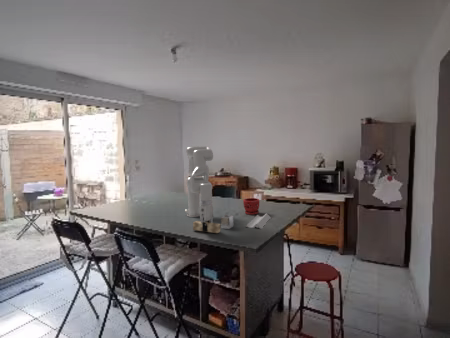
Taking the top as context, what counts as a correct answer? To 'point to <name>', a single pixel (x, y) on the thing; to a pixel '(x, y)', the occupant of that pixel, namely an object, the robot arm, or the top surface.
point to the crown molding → (258, 221)
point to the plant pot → (251, 206)
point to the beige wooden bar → (210, 227)
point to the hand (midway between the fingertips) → (206, 229)
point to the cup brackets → (225, 221)
